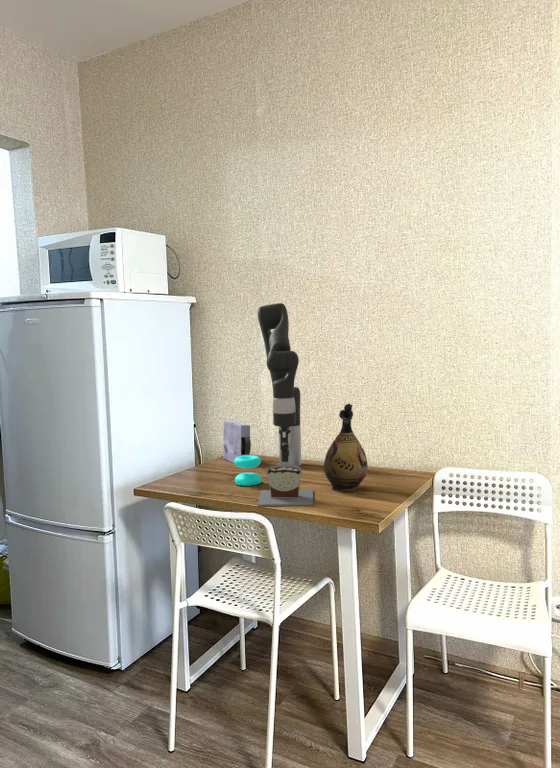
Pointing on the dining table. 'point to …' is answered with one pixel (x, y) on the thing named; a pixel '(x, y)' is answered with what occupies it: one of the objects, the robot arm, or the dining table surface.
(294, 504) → the mat
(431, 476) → the dining table surface
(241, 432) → the cake pan box
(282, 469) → the food container
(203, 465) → the dining table surface
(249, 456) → the donuts
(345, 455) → the ceramic jug
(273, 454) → the dining table surface
